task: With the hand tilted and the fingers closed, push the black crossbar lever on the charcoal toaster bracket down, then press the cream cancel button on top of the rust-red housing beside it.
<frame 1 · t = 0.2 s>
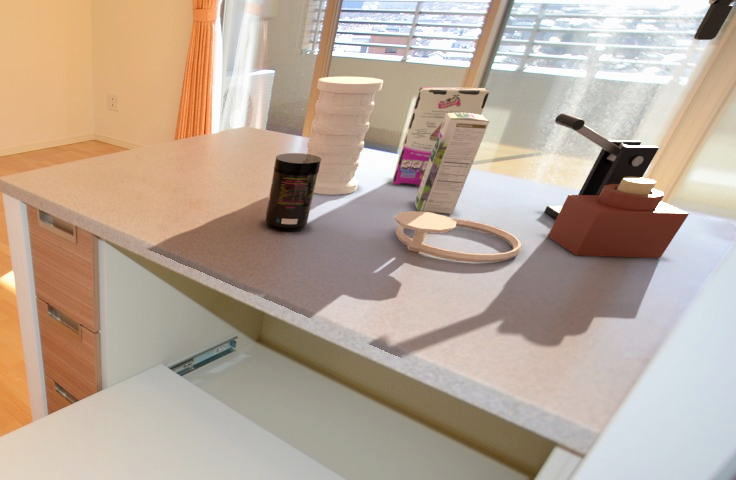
hand: (727, 41, 70), 24 cm above the table, tool pointing down, fingers open, 8 cm apart
candy bar box: (421, 185, 107), on the table
supplement container: (284, 227, 89), on the table
lever: (599, 140, 81), point 12 cm above the table, hinge at 25.0°
syrup box: (432, 209, 95), on the table
decorative container: (325, 187, 107), on the table
hand towel holder: (445, 245, 82), on the table
cancel button: (635, 186, 75), point 8 cm above the table, slide at 0.1 cm
toaster bracket: (588, 223, 88), on the table
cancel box: (601, 246, 80), on the table
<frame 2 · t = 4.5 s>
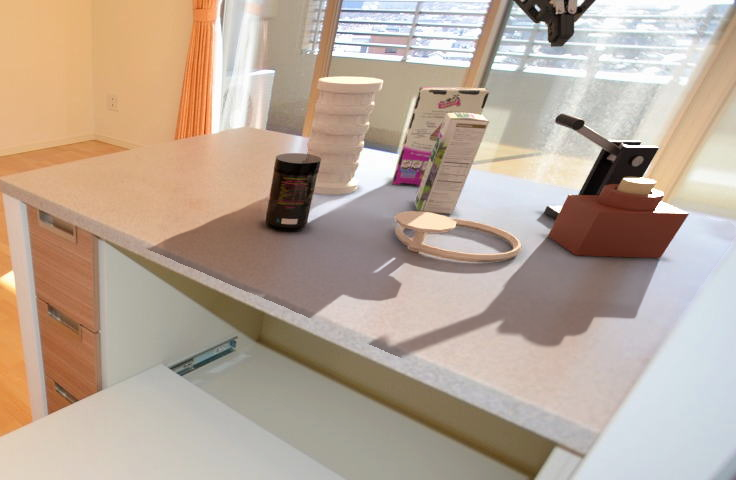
hand: (560, 42, 83), 24 cm above the table, tool tilted 45°, fingers closed
nothing on the table moved.
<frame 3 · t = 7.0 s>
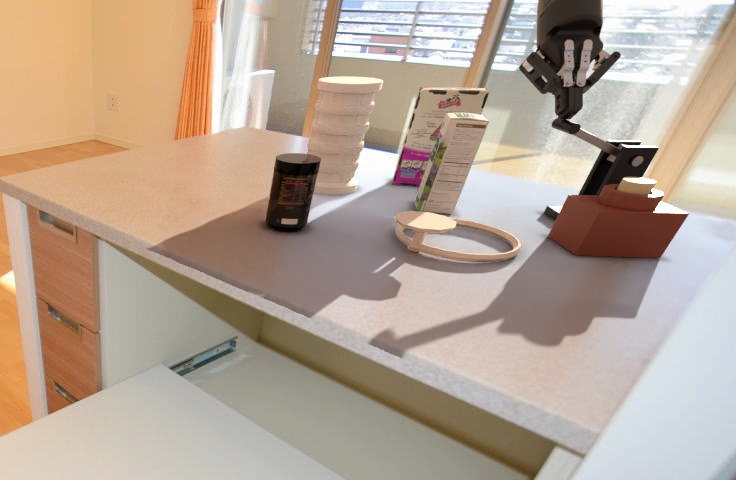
hand: (568, 115, 80), 15 cm above the table, tool tilted 45°, fingers closed
lever: (597, 142, 81), point 12 cm above the table, hinge at 21.7°, touching gripper
everything else where it was.
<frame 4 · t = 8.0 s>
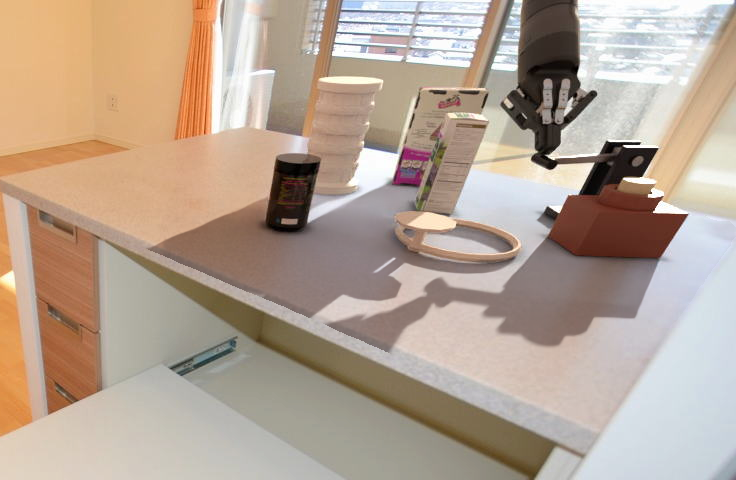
hand: (547, 151, 83), 11 cm above the table, tool tilted 45°, fingers closed
lever: (586, 158, 83), point 10 cm above the table, hinge at -4.1°, touching gripper
everything else where it was.
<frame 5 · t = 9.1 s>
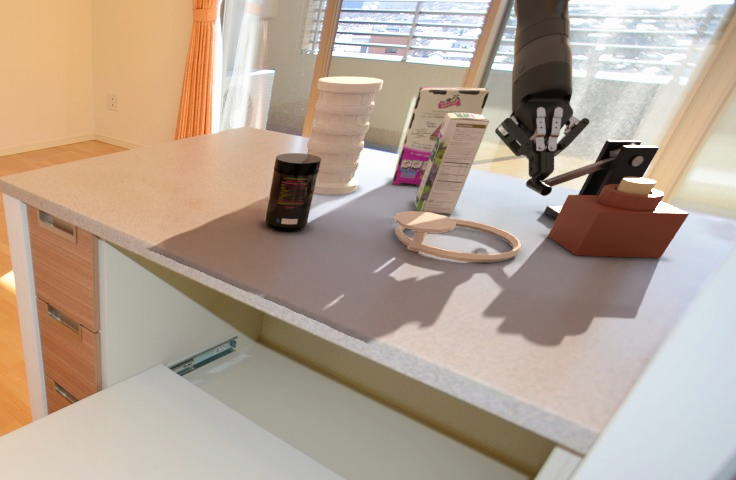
hand: (541, 177, 85), 7 cm above the table, tool tilted 45°, fingers closed
lever: (583, 171, 84), point 8 cm above the table, hinge at -24.3°, touching gripper
everything else where it was.
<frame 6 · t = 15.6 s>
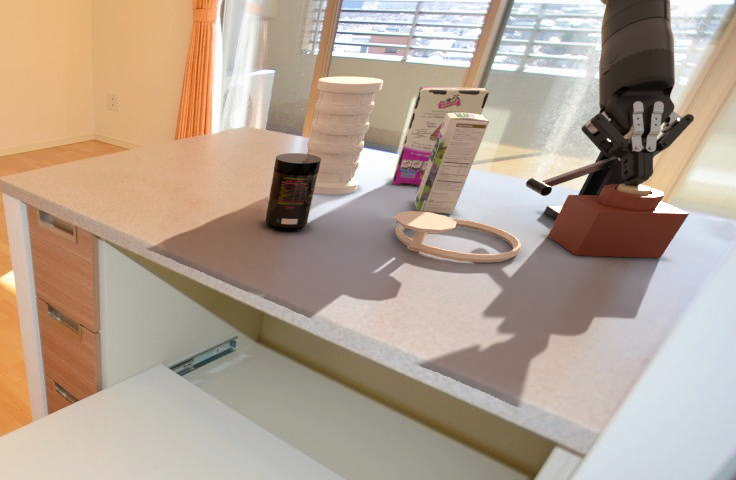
hand: (637, 182, 74), 9 cm above the table, tool tilted 45°, fingers closed
lever: (583, 171, 84), point 8 cm above the table, hinge at -24.4°
cancel button: (631, 193, 75), point 8 cm above the table, slide at -0.8 cm, touching gripper
everything else where it was.
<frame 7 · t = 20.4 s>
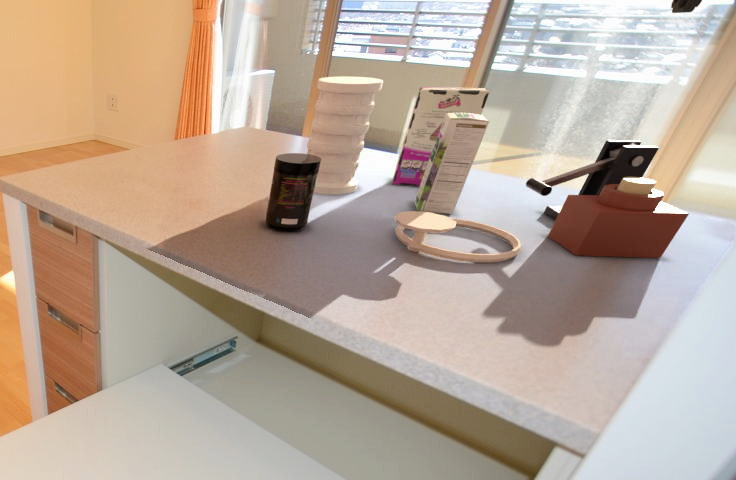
hand: (681, 12, 78), 27 cm above the table, tool pointing down, fingers closed
cancel button: (635, 186, 75), point 8 cm above the table, slide at 0.1 cm
everything else where it was.
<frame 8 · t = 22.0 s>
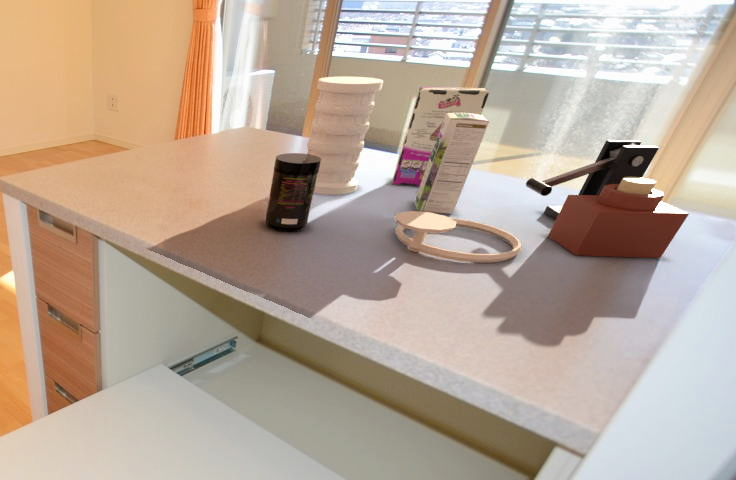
nothing on the table moved.
at the end: lever at -24° (first picture: +25°); cancel button pushed in 1.3 cm at the most during the clip, back to where it started at the end; cancel button slide at 0.1 cm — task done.
